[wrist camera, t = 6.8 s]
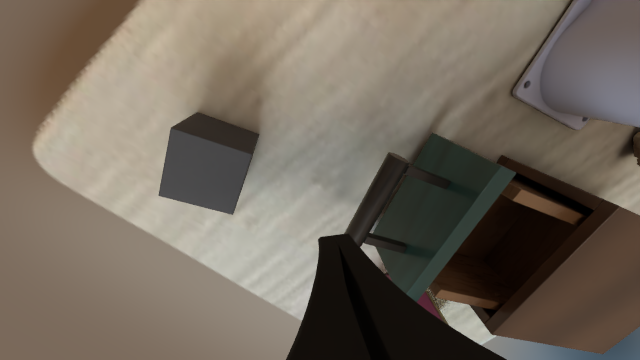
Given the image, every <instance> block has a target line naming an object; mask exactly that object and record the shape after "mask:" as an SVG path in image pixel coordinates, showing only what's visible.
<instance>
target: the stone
mask: <svg viewBox="0 0 640 360" xmlns="http://www.w3.org/2000/svg"><path fill="white" fill-rule="evenodd" d="M633 140H634V146H633V149H634V156H635V157H637V158H638V159H637V162H638V163H637V164H638V165H639V166H640V131H639V132H638V133H637V134H636V135H635V136H634V137H633Z"/></svg>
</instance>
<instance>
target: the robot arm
mask: <svg viewBox="0 0 640 360" xmlns="http://www.w3.org/2000/svg"><path fill="white" fill-rule="evenodd" d="M525 82H526V85H525V86H524V84H525ZM513 96H514V97H516V98H517V99H519V100H521V101H523V102H525V103H526V104H528V105H530V106H532V107H534V108H535V109H537V110H539V111H541V112H543V113H544V114H546V115H548V116H550V117H552V118H553V119H555V120H557V121H559V122H561V123H562V124H564V125H566V126H568V127H570V128H571V129H575V130H579V129H581V128H583V127H584V126H585V124H586V123H587V122H588V121H589V119H590V118H592V119H597V120H603V121H608V122H613V123H619V124H624V125H629V126H634V127H640V0H573V2H572V3H571V5H570V6H569V8H568V9H567V11H566V12H565V14H564V15H563V17H562V18H561V20H560V21H559V23H558V24H557V25H556V27H555V28H554V30H553V31H552V33H551V34H550V36H549V37H548V39H547V40H546V42H545V43H544V45H543V46H542V48H541V49H540V51H539V52H538V54H537V55H536V57H535V58H534V60H533V61H532V63H531V64H530V66H529V67H528V68H527V70H526V71H525V73H524V74H523V76H522V77H521V79H520V80H519V82H518V83H517V85H516V86H515V88H514V90H513ZM318 242H319V257H318V264H317V270H316V276H315V280H314V284H313V288H312V292H311V296H310V299H309V303H308V306H307V309H306V312H305V315H304V318H303V320H302V323H301V326H300V328H299V331H298V334H297V336H296V338H295V341H294V343H293V345H292V348H291V350H290V352H289V354H288V357H287V359H286V360H506V359H505V358H503V357H501V356H499V355H497V354H496V353H494V352H492V351H490V350H488V349H486V348H485V347H483V346H481V345H479V344H478V343H476V342H474V341H473V340H471V339H469V338H468V337H466V336H464V335H463V334H461V333H460V332H458V331H456V330H455V329H453V328H452V327H450V326H449V325H448V324H446V323H445V322H443V321H442V320H440V319H439V318H437V317H436V316H434V315H433V314H432V313H430V312H429V311H427V310H426V309H425V308H423V307H422V306H421V305H420V304H418V303H417V302H416V301H414V300H413V299H412V298H411V297H409V296H408V295H407V294H406V293H405V292H403V291H402V290H401V289H400V288H399V287H398V286H397V285H395V284H394V283H393V282H392V281H391V280H390V279H389V278H388V277H387V276H386V275H385V274H384V273H383V272H382V271H381V270H380V269H379V268H378V267H377V266H376V265H375V264H374V263H373V262H372V261H371V260H370V259H369V257H368V256H367V255H366V254H365V253H364V252H363V251H362V249H361V248H360V247H359V246H358V245H357V243H356V242H355V241H354V240H353V238H352V237H351V235H349V234H340V235H333V236H325V237H320V238H319V239H318Z"/></svg>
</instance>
